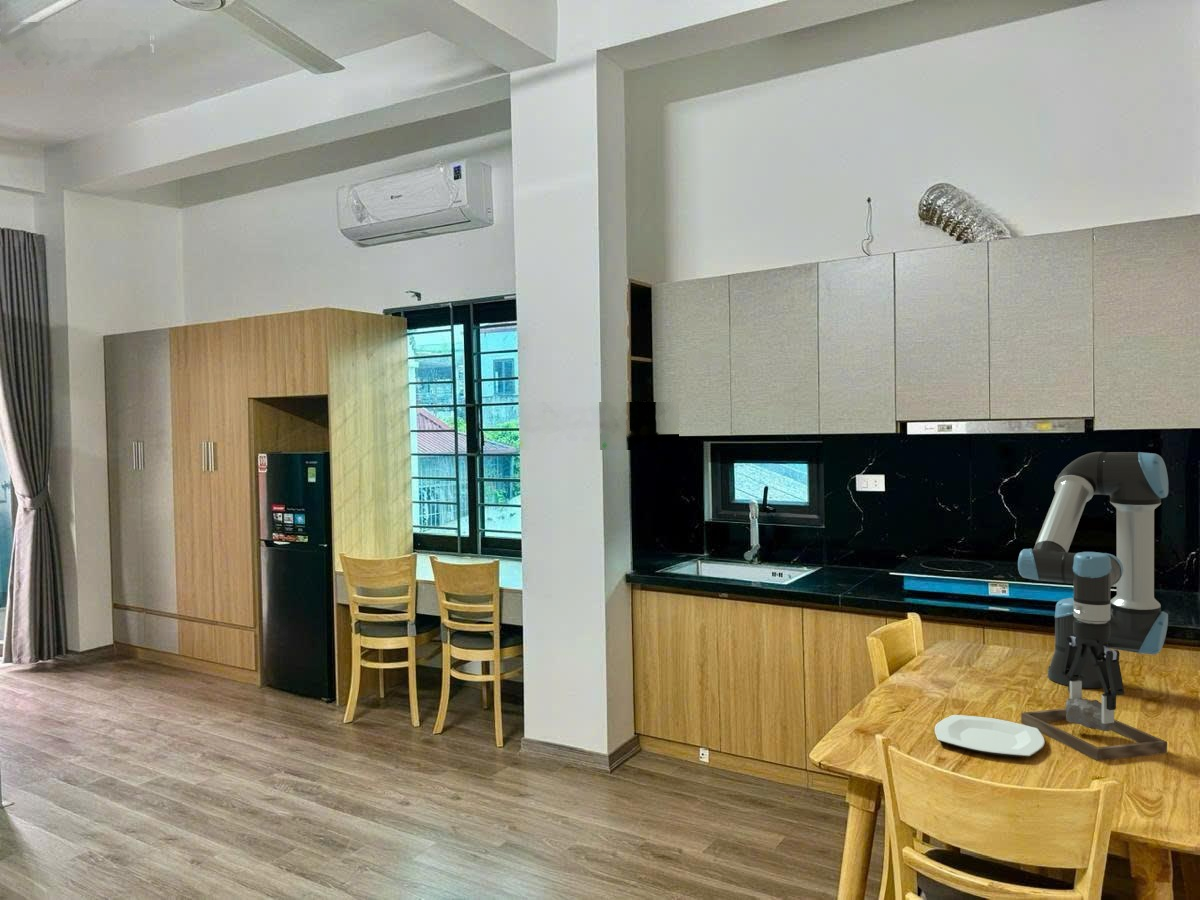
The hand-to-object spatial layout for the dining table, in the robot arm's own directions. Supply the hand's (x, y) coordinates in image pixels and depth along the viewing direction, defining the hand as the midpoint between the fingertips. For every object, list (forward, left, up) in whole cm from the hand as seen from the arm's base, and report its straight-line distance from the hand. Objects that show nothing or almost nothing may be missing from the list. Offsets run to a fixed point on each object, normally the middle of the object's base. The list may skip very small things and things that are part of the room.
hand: (1091, 714), depth 201 cm
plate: (+24, -4, -6) cm, 25 cm away
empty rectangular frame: (0, 0, -5) cm, 5 cm away
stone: (0, -1, -3) cm, 3 cm away
